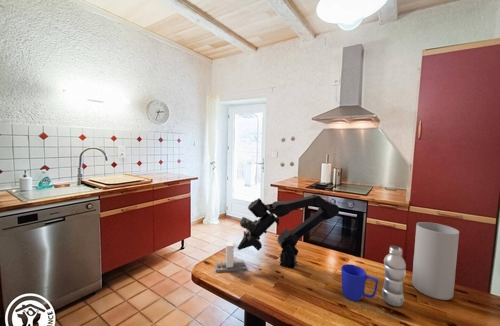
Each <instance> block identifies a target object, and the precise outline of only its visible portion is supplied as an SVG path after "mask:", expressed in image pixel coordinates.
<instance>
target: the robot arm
mask: <svg viewBox="0 0 500 326" xmlns="http://www.w3.org/2000/svg"><path fill="white" fill-rule="evenodd" d="M316 205H317V206H318V208H317V211H316V212H315V213H314V214H312V215H311V216H309V217H308V218H307V219H305V220H304V221H303V222H302V223H300V224H299V225H297V226H296V227H294V228H293V229H291V230H289V229H288V228H286V229H284V230H283V231H282V232H280V233H279V235H278V236H277V243H278V245H279V246H280V248H281V249H282V250H281V253H280V254H279V262H280V264H279V266H282V267H285V268H288V269H292V270H294V269H295V267H296V265H297V264H298V261H297V255H298V254H299V250H298V249H297V247H296V246H297V244H298V242H299V240H300V239H301V238H303V236H305V235H306V234H308V233H309V232H310V231H311V230H313V229H315V227H317V226H318V225H320V224H321V223H322V222H324V221H326V220H331V219H334V218H335V217H337V216H338V215H339V214H340V207H339V206H338V205H337V204H335V203H333V202H332V201H329V200H326V199H324V198H323V197H321V196H320V195H318V194H312V195H308V196H304V197H300V198H297V199H293V200H276V201H274V202H272V203H269V204H268V203H267V204H265V203H264V202H263V201H262V199H261V198H260V197H258V198H257V199H254V200H253V201H251V202H250V204H249V205H248V207H247V209H248V210H249V212H251V213H252V214H253V215H254V216H255V218H258V220H257V219H255V220H254V221H253V220H251V219H249V218H247V217H244V216H243V217H242V218H241V220H240V222H239V224H240V227H241V228H243V229H246V231H245V230H243V238H242V239H241V240H240V242H239V245H238V246H237V250H238V251H240V250H243V249H246V248H249V247H253V248H254V249H255V250H257V251H260V250H261V249H262V246H263V244H262V242H261V241H260V239H261V236H262V235H263V234H267V233H268V232H267V230H268V229H269V228H271V227H272V225H273V224H274V223H275V224H277V225H278V226H279V225H280V218H282V217H284V216H287V215H289V214H291V213H292V212H293V211H296V210H301V209H304V208H308V207H312V206H316Z"/></svg>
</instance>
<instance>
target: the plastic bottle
mask: <svg viewBox="0 0 500 326" xmlns="http://www.w3.org/2000/svg"><path fill="white" fill-rule="evenodd" d="M388 249H389V250H388V252H389V253H388V254H386V255H385V257H384V259H383V267H384V279H383V286H382V288H381V297H382V299H383V300H384V302H385V303H386V304H388V305H391V306H393V307H402V305H404V303H405V296H404V295H405V294H404V287H403V286H404V285H403V283H404V279H405V277H404V273H405V270H406V269H407V264H406V261H405V259H404V258H403V248H402V247H400V246H397V245H390V246H389V248H388Z"/></svg>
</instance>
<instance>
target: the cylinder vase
mask: <svg viewBox="0 0 500 326" xmlns="http://www.w3.org/2000/svg"><path fill="white" fill-rule="evenodd" d="M459 236H460V231H459V230H458V229H457V228H455V227H451V226H449V225H446V224H445V225H444V224H441V223H436V222H429V221H428V222H427V221H425V222H424V221H421V222H419V221H418V222H416V226H415V241H414V252H413V262H412V264H413V265H412V278H411V285H412V286H413V288H415V289H416V290H417V291H418V292H420V293H421V294H422V295H425V296H427V297H430V298H431V299H432V298H433V299H437V300H441V301H442V300H443V301H449V300H451V299H453V298H454V292H455V290H454V289H455V283H456V282H455V281H456V270H457V269H456V268H457V258H458V249H459V238H460V237H459Z"/></svg>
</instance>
